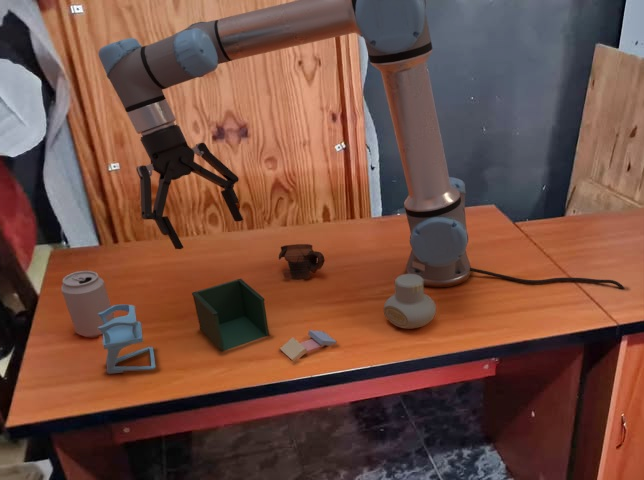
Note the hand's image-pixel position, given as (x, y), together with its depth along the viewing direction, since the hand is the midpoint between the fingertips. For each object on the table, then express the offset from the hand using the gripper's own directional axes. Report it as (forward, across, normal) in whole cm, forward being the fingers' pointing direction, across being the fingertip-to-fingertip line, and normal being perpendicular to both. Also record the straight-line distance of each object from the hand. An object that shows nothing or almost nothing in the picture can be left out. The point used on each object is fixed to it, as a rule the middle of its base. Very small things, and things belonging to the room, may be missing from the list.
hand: (210, 234), depth 137 cm
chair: (+15, +26, +3) cm, 30 cm away
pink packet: (+24, -1, +20) cm, 31 cm away
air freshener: (+30, -22, +24) cm, 44 cm away
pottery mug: (+18, -19, -8) cm, 28 cm away
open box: (+19, +7, +6) cm, 21 cm away
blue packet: (+24, -5, +20) cm, 31 cm away
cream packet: (+22, +2, +20) cm, 30 cm away
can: (+10, +26, -13) cm, 30 cm away
